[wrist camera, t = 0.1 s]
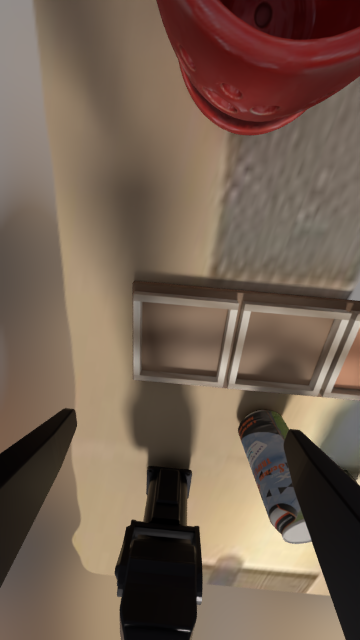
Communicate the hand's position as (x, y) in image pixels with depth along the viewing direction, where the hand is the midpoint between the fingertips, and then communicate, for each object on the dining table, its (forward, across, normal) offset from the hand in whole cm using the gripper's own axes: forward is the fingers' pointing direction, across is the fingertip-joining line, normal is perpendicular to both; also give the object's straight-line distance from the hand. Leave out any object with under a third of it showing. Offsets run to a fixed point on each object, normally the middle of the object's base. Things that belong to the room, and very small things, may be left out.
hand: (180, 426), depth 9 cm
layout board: (+16, -11, +4) cm, 20 cm away
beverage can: (+16, -12, +16) cm, 26 cm away
